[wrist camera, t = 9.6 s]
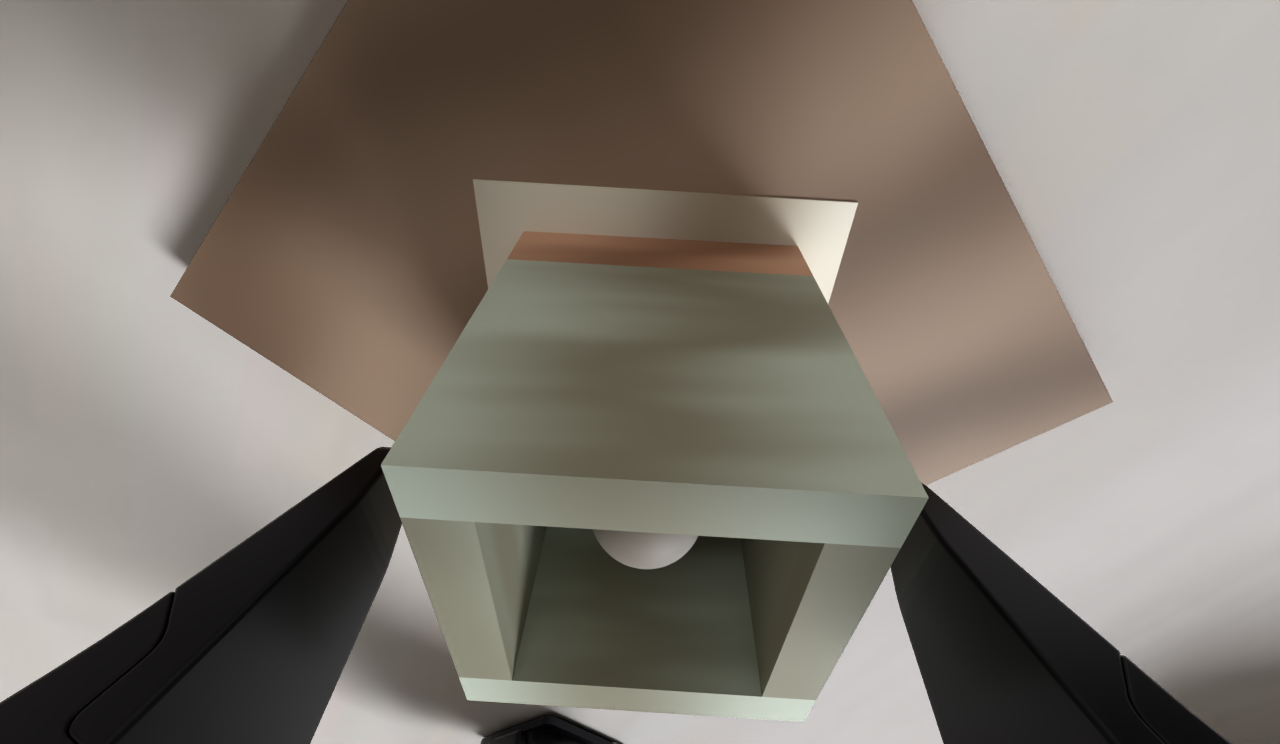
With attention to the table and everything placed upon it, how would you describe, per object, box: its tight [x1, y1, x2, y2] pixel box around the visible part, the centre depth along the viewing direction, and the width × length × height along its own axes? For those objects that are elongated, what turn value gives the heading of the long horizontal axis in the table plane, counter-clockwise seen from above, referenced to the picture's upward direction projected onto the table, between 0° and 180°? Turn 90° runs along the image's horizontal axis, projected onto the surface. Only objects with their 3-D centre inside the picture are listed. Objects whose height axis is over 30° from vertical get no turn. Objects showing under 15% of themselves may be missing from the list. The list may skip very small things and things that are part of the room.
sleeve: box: [381, 231, 929, 722], centre depth 10 cm, size 6×6×7 cm
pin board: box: [170, 0, 1113, 569], centre depth 11 cm, size 18×16×7 cm
